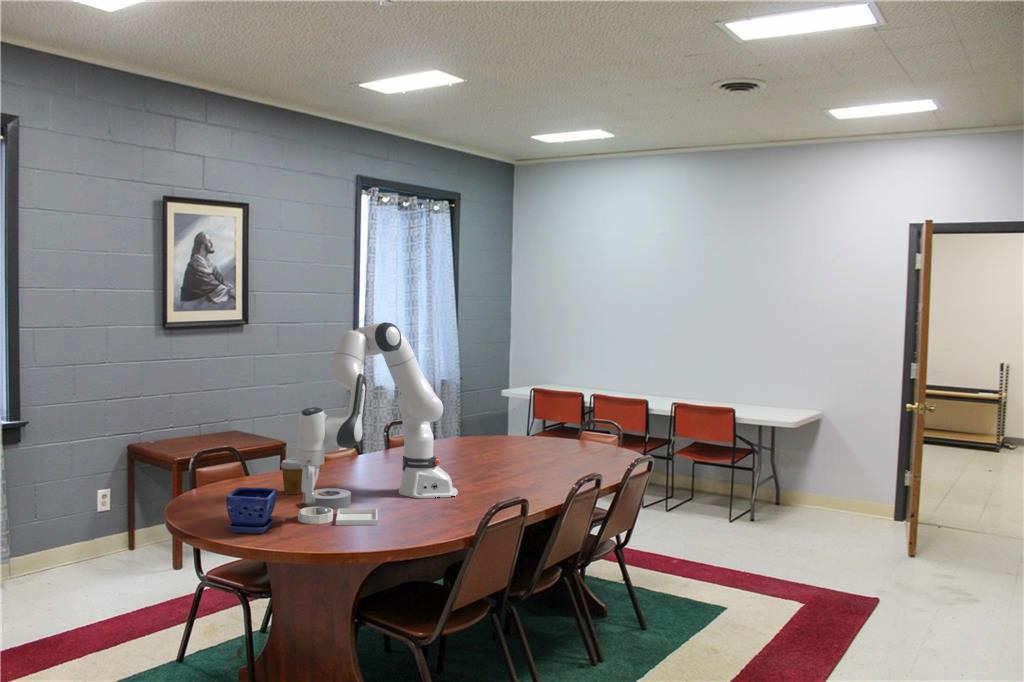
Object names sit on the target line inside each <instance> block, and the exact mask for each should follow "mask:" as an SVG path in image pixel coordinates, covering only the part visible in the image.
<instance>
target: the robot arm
mask: <svg viewBox="0 0 1024 682" xmlns="http://www.w3.org/2000/svg"><path fill="white" fill-rule="evenodd" d="M379 354H380V355H382V356H383V358H384V361H385V364H386V366H387V370H388V371H389V374H390V376H391V379H392V381H393V384H395V386H396V387H397V389H398V390H399V392H400V393H401V394H400V395H399V396H398V399H397V406H398V409H399V411H400V416H401V421H402V429H403V434H404V435H403V437H404V439H403V441H404V444H403V446H404V447H403V455H402V460H401V461H402V462H401V464H402V465H401V469H402V476H401V480H400V481H401V482H400V484H399V485H400V486H399V490H398V494H399V495H402V496H406V497H411V498H412V499H436V498H437V497H440V498H452V497H451V496H455V497H457V496H458V495H459V491H458V489H457V488H456V487H455V486H453V482H452V478H451V476H450V475H449V473H447V472H446V471H445V470H443V469H442V468H441V467H440V466H439V465H440V464H441V461H440V459H439V458H438V457H436V456H435V455H434V443H435V442H434V438H435V437H434V433H433V431H432V428H431V423H432V422H436V421H438V420H439V419H441V417H442V415H443V413H444V404H443V402H442V401H441V399H440V398H439V397H438V395H437V394H436V393H435V391H434V389H433V387H432V385H431V384H430V383H429V381H428V380H427V378H426V376H425V375H424V373H423V371H422V368H421V366H420V364H419V361H418V360H417V357H416V354H415V351H414V350H413V348H412V345H410V342H409V341H408V340H407V338H406V336H405V335H404V334H403V332H401V331H400V329H399V327H397V325H396V324H394V323H392V322H385V321H384V322H381V323H380V322H379V323H370V324H368V325H365V326H362V327H356V328H355V329H353V330H351V329H350V330H347V331H345V332H343V334H342V335H341V336H340V338H339V340H338V341H337V343H336V346H335V348H334V351H333V352H332V357H331V360H330V361H329V362H330V363H329V368H328V371H329V374H330V376H331V378H332V379H333V380H334V381H335V382H336V383H337V384H339V385H340V386H341V387H344V388H345V389H347V390H349V391H350V398H349V407H348V412H347V415H345V416H344V417H343V416H334V415H330V414H329V415H328V414H326V413H325V411H324V409H323V408H321V407H315V406H313V407H307V408H304V409H302V410H301V411H300V413H299V417H298V422H297V433H296V437H297V440H298V442H297V447H296V459H297V462H296V463H297V464H299V465H300V468H301V469H303V471H302V485H301V490H302V493H303V492H305V496H306V502H311V500H312V492H313V490H315V486H316V483H317V481H318V478H319V471H320V469H321V465H324V463H325V453H326V452H325V450H326V448H325V445H328V446H337V447H340V448H345V449H353V448H354V447H355V446H357V445H359V443H360V442H361V440H362V439H363V434H364V416H365V413H364V412H365V407H366V399H367V387H368V385H367V384H368V383H367V379H366V376H365V375H364V374H363V368H364V367H363V366H364V363H365V359H366V356H377V355H379ZM457 494H458V495H457ZM456 495H457V496H456ZM435 497H436V498H435Z"/></svg>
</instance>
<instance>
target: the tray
mask: <svg viewBox="0 0 1024 682" xmlns="http://www.w3.org/2000/svg"><path fill="white" fill-rule="evenodd" d="M378 510H379V509H378V507H377V508H365V507H364V508H343V509H337V511H336V512H337V514H336V519H335V526H378V522H379V521H378V520H379V519H378V516H379V513H378V512H379V511H378Z"/></svg>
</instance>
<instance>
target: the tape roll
mask: <svg viewBox="0 0 1024 682" xmlns="http://www.w3.org/2000/svg"><path fill="white" fill-rule="evenodd" d="M313 491H315V492H316V496H315V503H313V504H305V506H306V508H307V507H327V508H331V509H333V511H334V510H335V511H336V510H338V509H347V508H349V507H350V506H351V505H352V504H351V503H352V492H351V491H350V490H347V489H345V488H344V489H343V488H338V487H337V488H336V487H335V488H334V487H333V488H332V487H327V488H319V489H318V488H317V489H314V490H313Z"/></svg>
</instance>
